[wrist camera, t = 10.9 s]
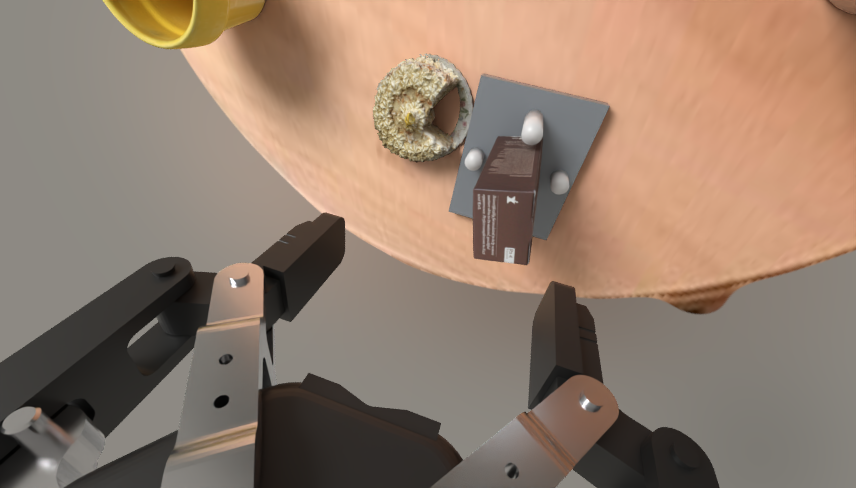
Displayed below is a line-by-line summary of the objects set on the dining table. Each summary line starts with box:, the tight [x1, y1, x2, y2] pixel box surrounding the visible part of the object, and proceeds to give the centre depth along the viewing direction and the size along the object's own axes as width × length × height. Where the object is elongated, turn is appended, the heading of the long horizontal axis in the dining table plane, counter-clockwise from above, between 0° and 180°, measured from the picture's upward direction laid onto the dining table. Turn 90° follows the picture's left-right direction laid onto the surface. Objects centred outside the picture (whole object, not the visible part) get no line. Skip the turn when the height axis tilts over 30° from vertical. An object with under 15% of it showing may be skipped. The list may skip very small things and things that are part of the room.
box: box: [473, 136, 543, 265], centre depth 28 cm, size 6×4×12 cm
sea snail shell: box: [373, 54, 473, 162], centre depth 32 cm, size 10×10×5 cm
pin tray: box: [449, 74, 610, 240], centre depth 31 cm, size 11×14×6 cm
